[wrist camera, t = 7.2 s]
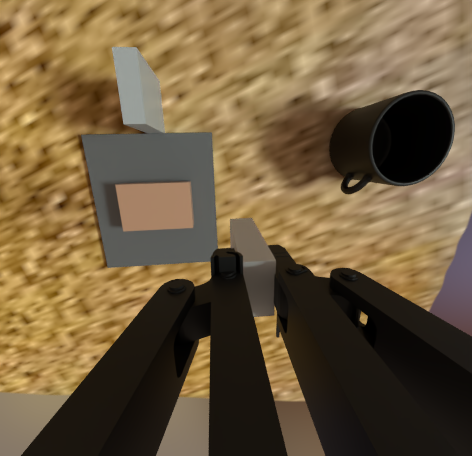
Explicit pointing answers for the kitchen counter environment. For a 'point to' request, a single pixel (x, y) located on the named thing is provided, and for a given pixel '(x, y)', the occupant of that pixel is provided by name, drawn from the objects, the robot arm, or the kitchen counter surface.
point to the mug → (393, 140)
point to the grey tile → (138, 91)
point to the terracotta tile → (155, 205)
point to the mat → (153, 170)
